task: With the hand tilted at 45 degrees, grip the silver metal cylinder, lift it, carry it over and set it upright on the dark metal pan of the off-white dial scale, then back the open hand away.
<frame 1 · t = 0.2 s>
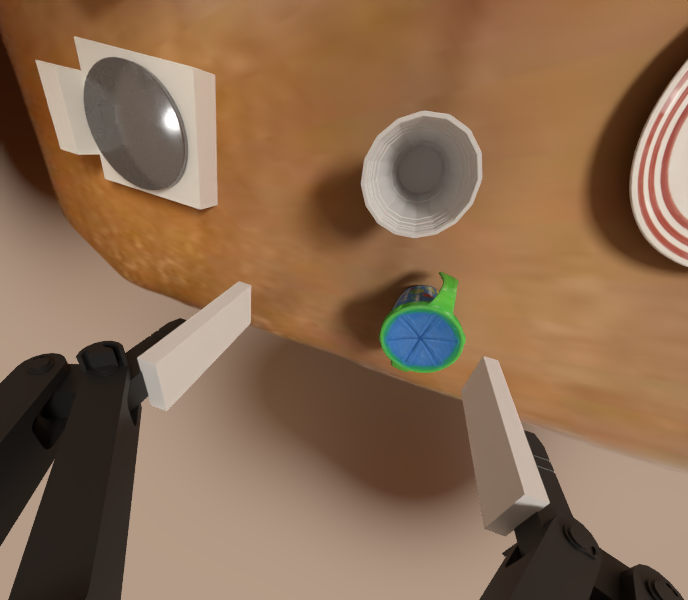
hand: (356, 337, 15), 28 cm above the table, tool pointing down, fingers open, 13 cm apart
scale: (166, 132, 41), on the table
snack cup: (421, 303, 44), on the table
plastic cup: (420, 172, 35), on the table
scale pan: (136, 130, 37), point 5 cm above the table, slide at -0.4 cm
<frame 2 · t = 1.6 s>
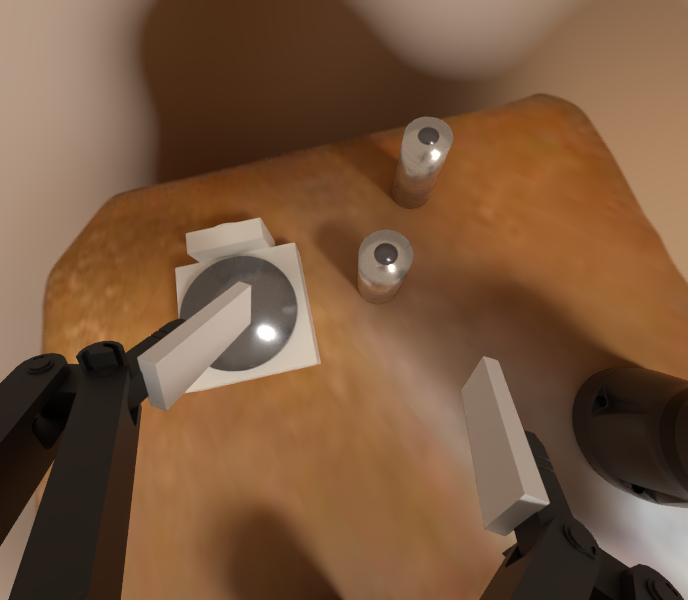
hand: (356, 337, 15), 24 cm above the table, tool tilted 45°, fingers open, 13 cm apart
silver metal cylinder: (377, 284, 41), on the table
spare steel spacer: (410, 192, 44), on the table
scale: (253, 318, 40), on the table
scale pan: (239, 311, 35), point 5 cm above the table, slide at -0.4 cm
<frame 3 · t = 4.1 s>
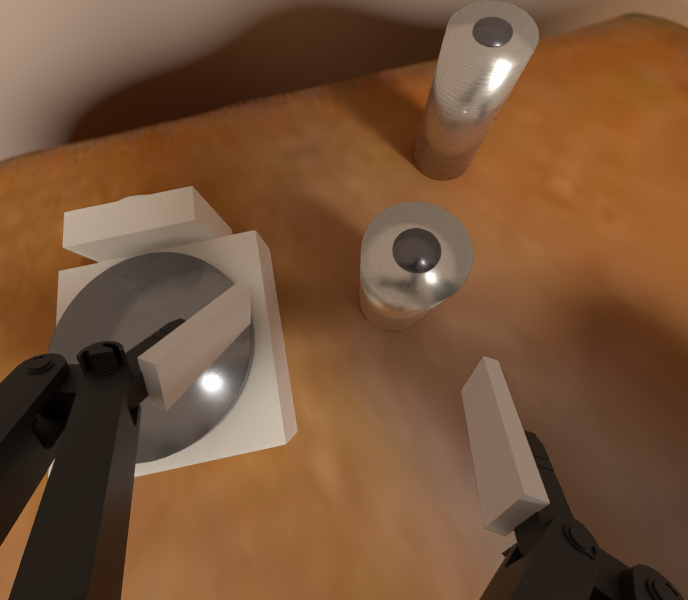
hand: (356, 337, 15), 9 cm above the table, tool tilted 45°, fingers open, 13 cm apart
silver metal cylinder: (391, 298, 25), on the table
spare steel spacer: (441, 155, 29), on the table
scale: (191, 352, 25), on the table
scale pan: (152, 348, 20), point 5 cm above the table, slide at -0.4 cm
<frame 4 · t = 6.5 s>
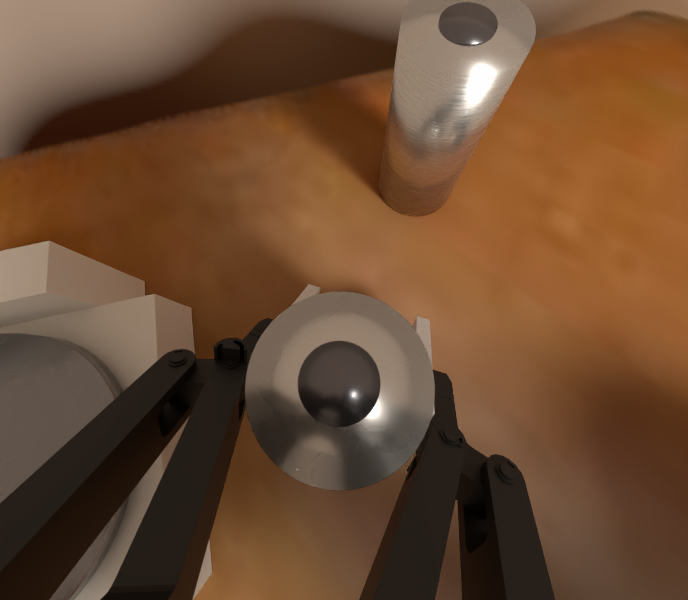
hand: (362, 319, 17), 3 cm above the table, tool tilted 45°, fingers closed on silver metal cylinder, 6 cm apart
silver metal cylinder: (346, 376, 19), on the table, touching gripper
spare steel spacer: (414, 184, 23), on the table
scale: (77, 453, 19), on the table
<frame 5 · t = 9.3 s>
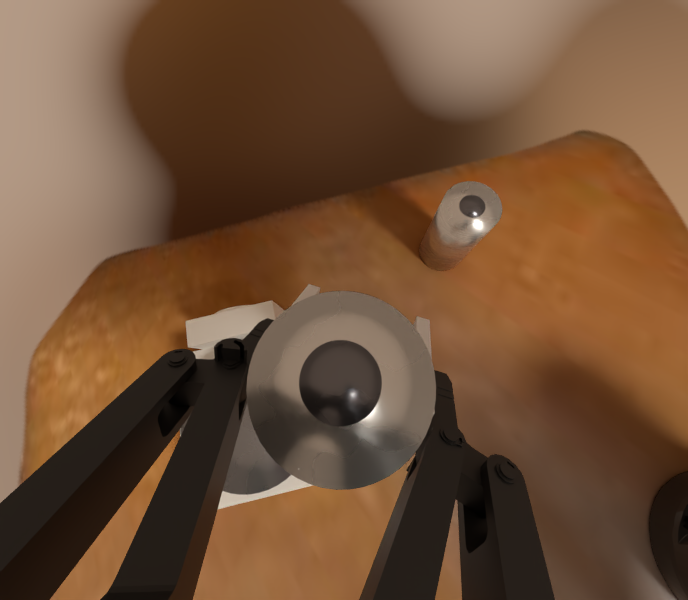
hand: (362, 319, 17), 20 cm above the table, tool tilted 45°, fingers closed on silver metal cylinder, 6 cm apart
silver metal cylinder: (346, 376, 19), point 16 cm above the table, touching gripper
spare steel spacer: (440, 251, 39), on the table
scale: (265, 407, 35), on the table
scale pan: (250, 414, 30), point 5 cm above the table, slide at -0.4 cm
when the fingers open (11 cm above the table, at t = 12.1 s): silver metal cylinder drops 2 cm, resting on scale pan.
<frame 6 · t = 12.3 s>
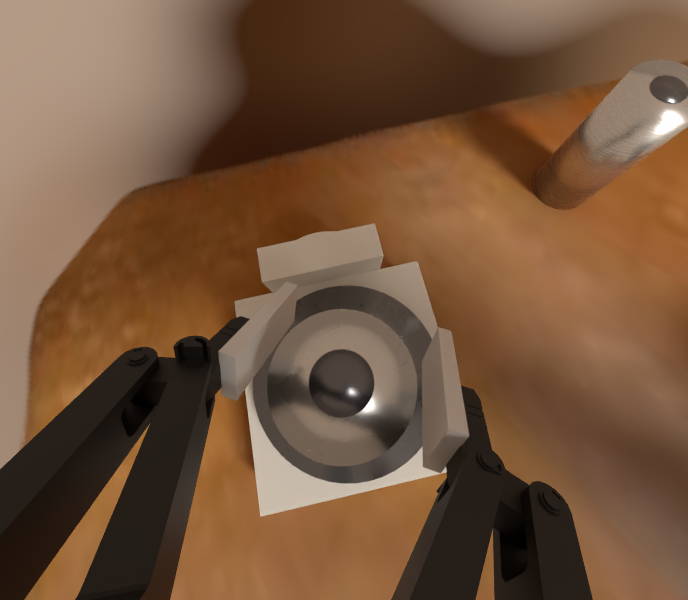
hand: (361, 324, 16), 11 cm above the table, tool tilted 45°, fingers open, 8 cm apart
silver metal cylinder: (347, 376, 22), point 5 cm above the table, touching scale pan
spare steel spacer: (559, 186, 31), on the table
scale: (347, 374, 27), on the table
scale pan: (346, 375, 22), point 5 cm above the table, slide at -0.8 cm, touching silver metal cylinder
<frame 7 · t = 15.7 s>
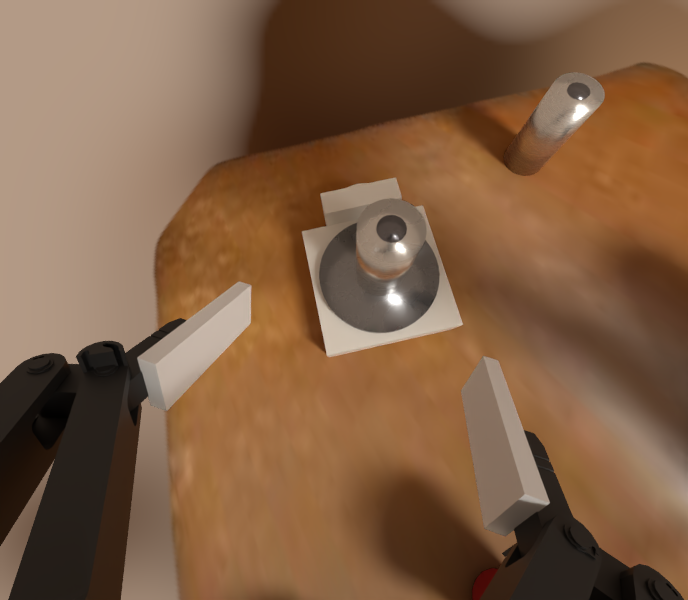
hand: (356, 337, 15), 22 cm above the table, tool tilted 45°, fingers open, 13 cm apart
silver metal cylinder: (379, 272, 34), point 5 cm above the table, touching scale pan
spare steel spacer: (523, 159, 44), on the table
scale: (375, 284, 39), on the table
plastic cup: (495, 599, 30), on the table
scale pan: (378, 273, 35), point 5 cm above the table, slide at -0.8 cm, touching silver metal cylinder
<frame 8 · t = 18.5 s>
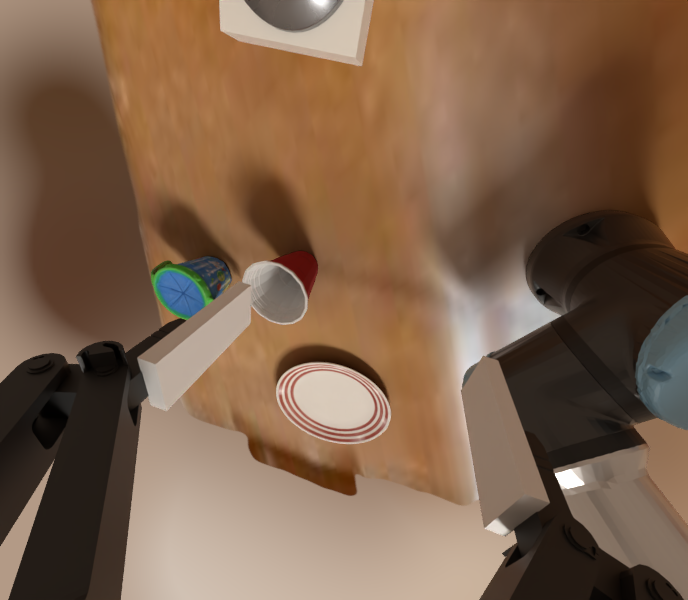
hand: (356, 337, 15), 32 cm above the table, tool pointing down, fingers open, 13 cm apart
snack cup: (217, 272, 56), on the table
plastic cup: (302, 265, 51), on the table
dinner plate: (334, 396, 66), on the table
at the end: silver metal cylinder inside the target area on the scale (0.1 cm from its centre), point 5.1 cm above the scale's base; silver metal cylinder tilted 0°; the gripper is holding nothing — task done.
